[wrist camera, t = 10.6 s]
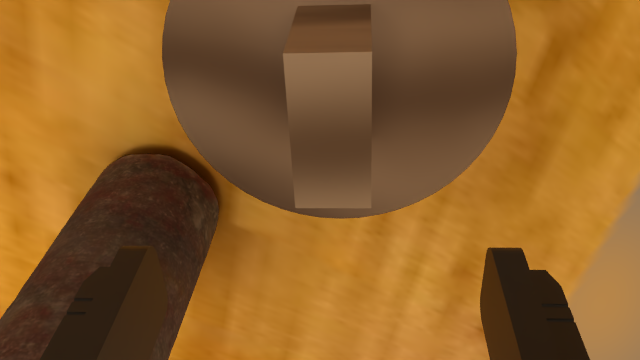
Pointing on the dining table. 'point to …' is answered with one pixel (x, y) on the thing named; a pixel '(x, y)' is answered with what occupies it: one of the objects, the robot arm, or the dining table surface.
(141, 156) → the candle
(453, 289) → the dining table surface
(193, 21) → the lid
